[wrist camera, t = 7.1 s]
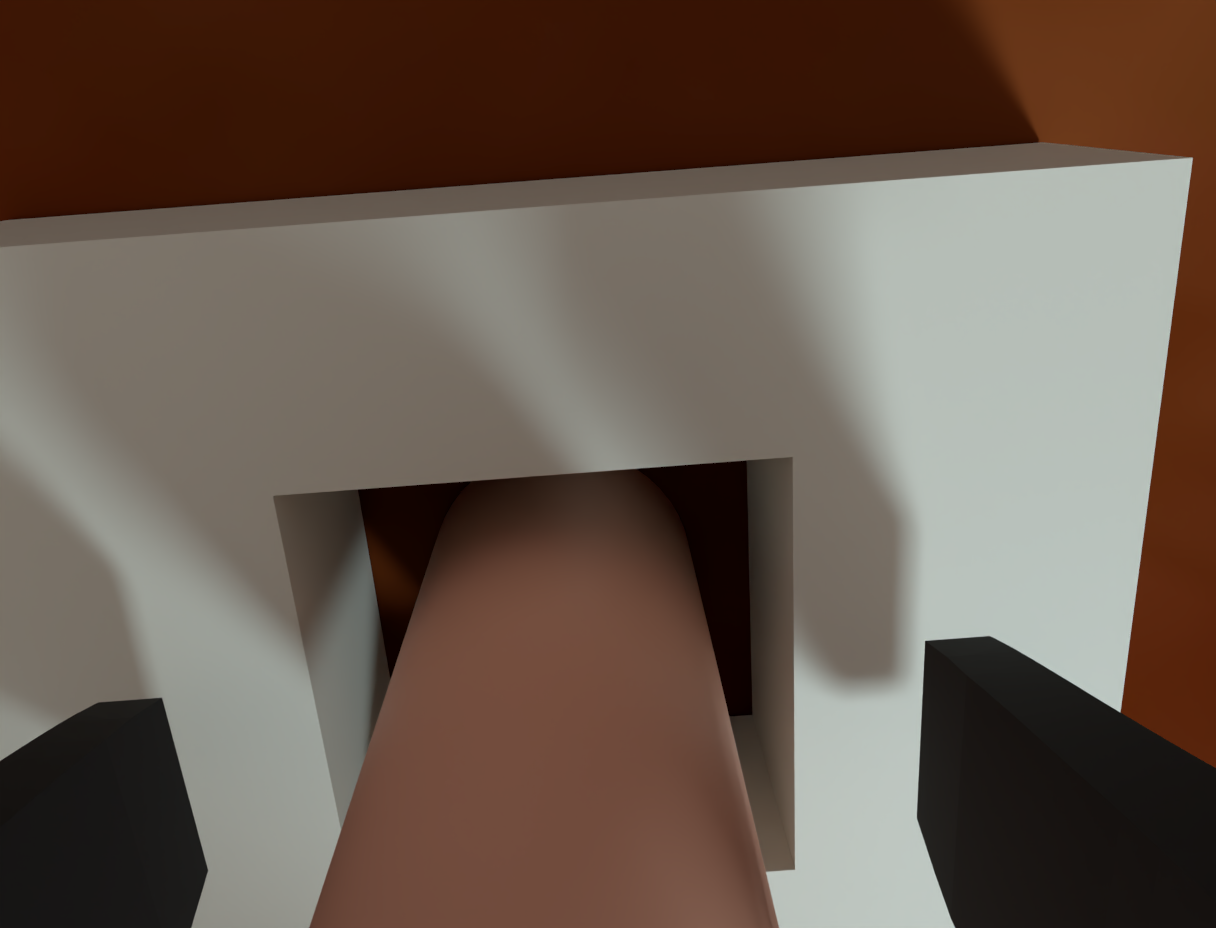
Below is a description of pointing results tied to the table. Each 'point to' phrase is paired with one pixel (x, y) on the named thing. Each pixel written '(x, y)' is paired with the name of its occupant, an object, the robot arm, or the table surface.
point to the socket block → (586, 459)
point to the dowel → (553, 730)
